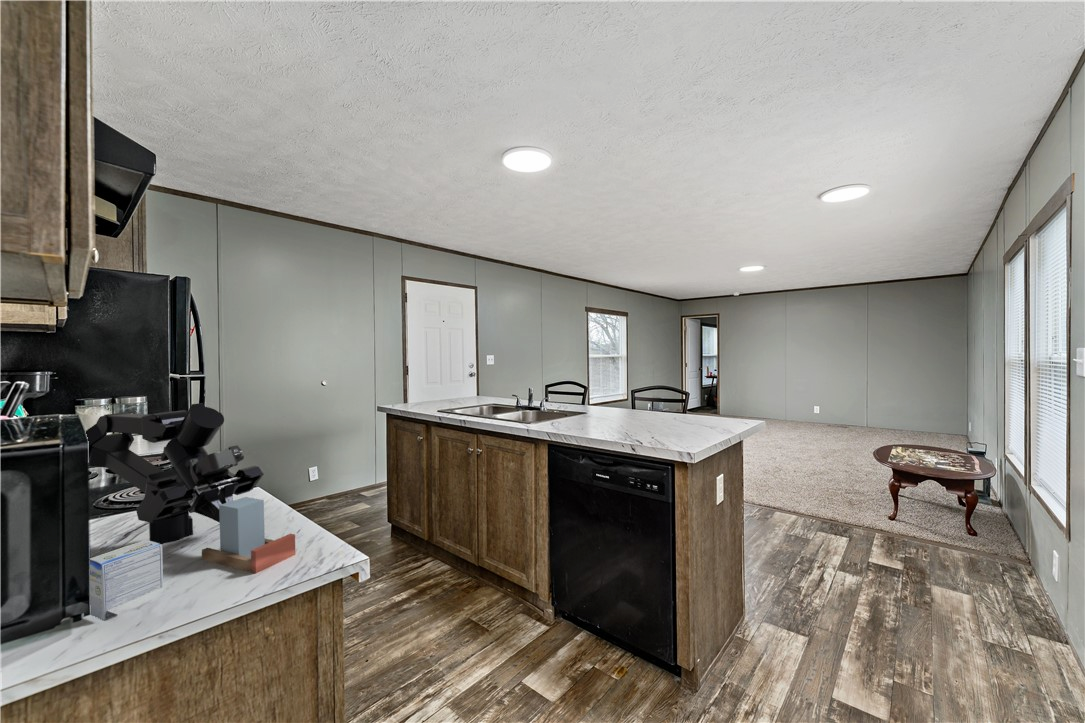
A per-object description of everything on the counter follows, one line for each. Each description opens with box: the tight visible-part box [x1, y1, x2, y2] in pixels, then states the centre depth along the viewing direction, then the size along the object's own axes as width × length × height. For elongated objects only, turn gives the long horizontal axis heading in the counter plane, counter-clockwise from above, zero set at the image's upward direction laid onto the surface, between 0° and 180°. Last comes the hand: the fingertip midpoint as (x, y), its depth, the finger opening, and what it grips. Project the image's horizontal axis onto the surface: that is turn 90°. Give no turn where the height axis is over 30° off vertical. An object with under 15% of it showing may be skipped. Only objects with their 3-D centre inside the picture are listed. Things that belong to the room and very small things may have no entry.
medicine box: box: [89, 539, 164, 621], centre depth 73 cm, size 8×4×9 cm, turn 157°
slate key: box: [219, 496, 266, 558], centre depth 87 cm, size 5×5×10 cm
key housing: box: [201, 533, 296, 574], centre depth 87 cm, size 15×9×5 cm, turn 68°
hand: (232, 524), depth 88 cm, fingers closed
